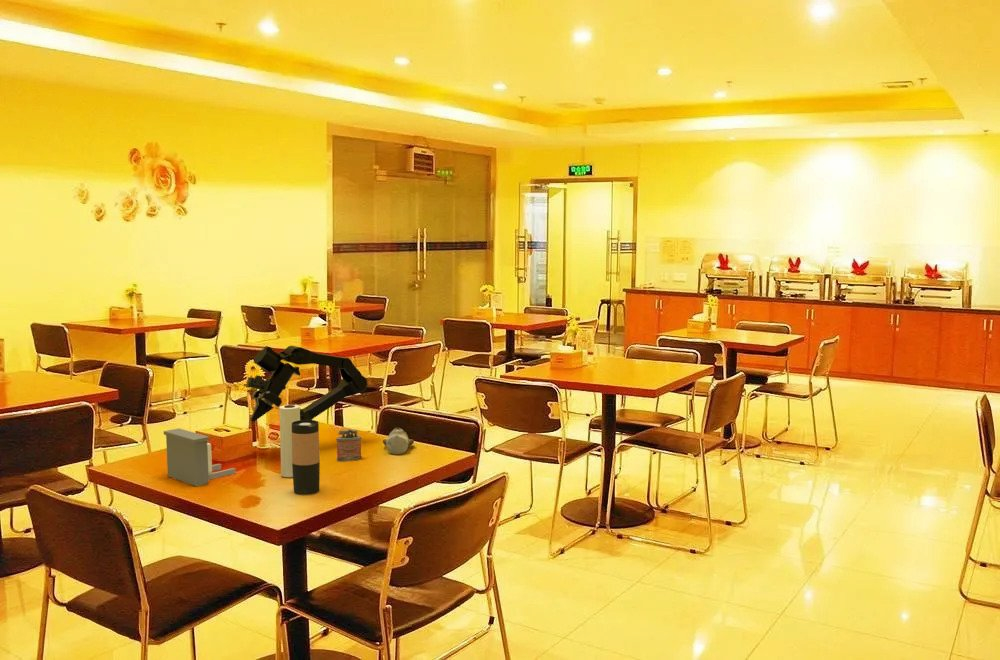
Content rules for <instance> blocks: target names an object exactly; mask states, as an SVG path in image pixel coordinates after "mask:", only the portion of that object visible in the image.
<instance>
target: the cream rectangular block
mask: <svg viewBox="0 0 1000 660" xmlns="http://www.w3.org/2000/svg"><path fill="white" fill-rule="evenodd" d="M207 448H208V474H210V473H213V471H212V465H213V459H212V454H213V453H212V444H211V443H209V442H207Z"/></svg>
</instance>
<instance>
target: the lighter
mask: <svg viewBox="0 0 1000 660" xmlns="http://www.w3.org/2000/svg"><path fill="white" fill-rule="evenodd" d="M337 432H338V433H337V434H338V435H339V436H338V437H337V436H336V438H335V439H336V440H335V441H336V462H350V461H349V460H355V461H360V460H359V459H361V460H362V435H358V434H359V433H358V429H352V428H348V429H347V430H346V429H343V430H342V429H341V430H338V431H337Z"/></svg>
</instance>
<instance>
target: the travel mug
mask: <svg viewBox="0 0 1000 660" xmlns="http://www.w3.org/2000/svg"><path fill="white" fill-rule="evenodd" d="M319 425H320V424H319V420H318V421H317V420H314V419H312V420H299V421H295V422H292V469H293V477H292V483H293V493H294V494H295V495H299V496H308V495H309V496H310V495H315V494H317V493H319V492H320V475H321V473H320V471H321V470H320V468H321V467H320V466H321V463H320V461H321V460H320V459H321V458H320V431H319V429H320V428H319V427H320V426H319Z"/></svg>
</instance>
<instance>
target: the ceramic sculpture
mask: <svg viewBox="0 0 1000 660" xmlns="http://www.w3.org/2000/svg"><path fill="white" fill-rule="evenodd" d="M414 442H415V440H414V439H412V438H411V439H410V438H409V435H408V433H407V432H406V431H405V430H404V429H403V428H401V427H400V426H396V427H395V428H394V429H393V430H391V431H390V432H389V434H388V435H387V438H386V439H383V440H382V444H383V445H384V446H385V447H386V449H387V451H388V452H389V453H390V454H393V455H396V454H399V455H402V454H405V453H406V451H407V450H408V449H409V447H411V446H412V445H413V444H414Z"/></svg>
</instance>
